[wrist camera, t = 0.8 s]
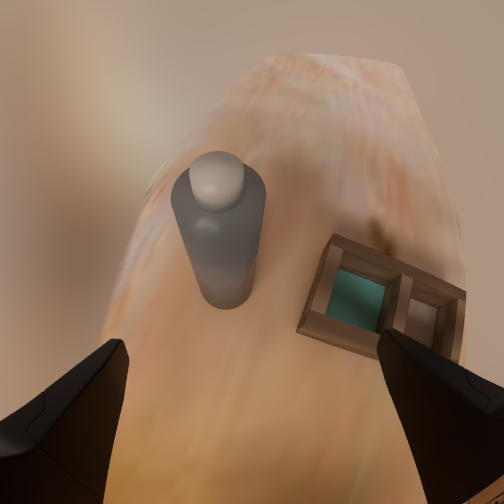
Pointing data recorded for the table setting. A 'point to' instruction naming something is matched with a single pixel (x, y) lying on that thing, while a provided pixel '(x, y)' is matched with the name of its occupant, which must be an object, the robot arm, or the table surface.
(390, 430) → the table surface
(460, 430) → the robot arm
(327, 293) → the box
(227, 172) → the slate plug
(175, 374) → the table surface
